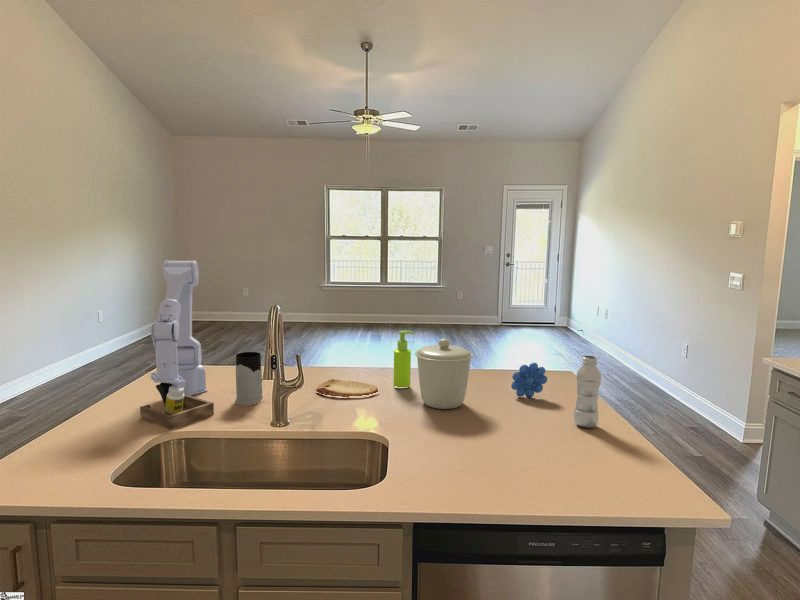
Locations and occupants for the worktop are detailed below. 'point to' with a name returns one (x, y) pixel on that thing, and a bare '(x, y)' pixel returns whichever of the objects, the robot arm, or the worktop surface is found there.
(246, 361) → the grey and black cylinder
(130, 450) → the worktop surface
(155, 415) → the walled box
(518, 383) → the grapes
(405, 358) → the soap dispenser
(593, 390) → the plastic bottle
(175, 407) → the supplement bottle
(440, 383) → the canister
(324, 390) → the slice of bread
